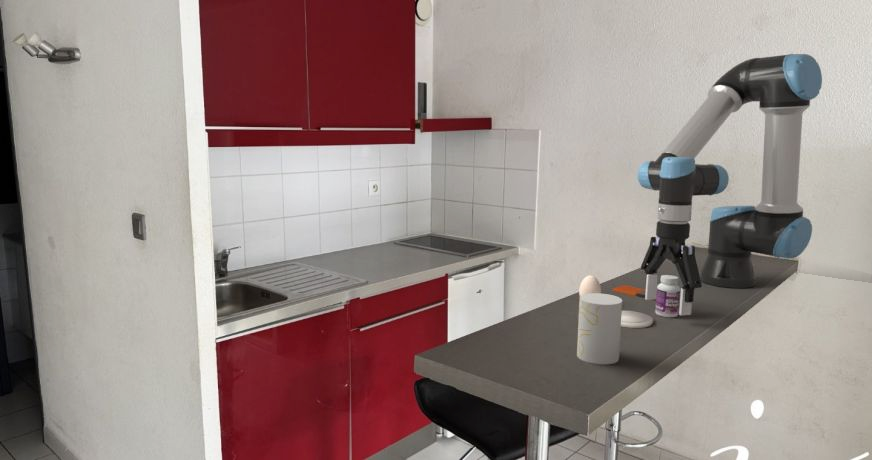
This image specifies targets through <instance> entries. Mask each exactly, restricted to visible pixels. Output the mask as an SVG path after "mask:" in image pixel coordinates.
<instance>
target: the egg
mask: <svg viewBox="0 0 872 460" xmlns="http://www.w3.org/2000/svg"><path fill="white" fill-rule="evenodd" d="M590 293H601V294H602V286H601V284H600V281H599V279H598V278H597V277H595V276H594V275H587V276H585V277H584V278H583V279H582V281H581V283H580V285H579V290H578V294H579V297H580V296H581V295H584V294H590Z"/></svg>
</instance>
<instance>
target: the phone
mask: <svg viewBox="0 0 872 460" xmlns="http://www.w3.org/2000/svg"><path fill="white" fill-rule="evenodd" d="M615 291H616V293H619V292H620V293H621V294H623V293H624V295H629V296H632V295H633V297H636V296H637V298H642V299H645V293H646V289H644V288H639V287H635V286H630V285H627V284H625V285H621V286H618V287H614V288H613V289H612V292H615ZM620 293H619V294H620ZM656 295H657V292H656ZM651 301H654V302H656V299H652V300H651Z"/></svg>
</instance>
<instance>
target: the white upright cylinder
mask: <svg viewBox="0 0 872 460" xmlns="http://www.w3.org/2000/svg"><path fill="white" fill-rule="evenodd" d="M578 305H579V306H578V322H577V323H578V326H577V327H578V328H577V345H576V346H577V347H576V356H577V358H578V359H580V360H581V361H583V362H586V363H590V364H594V365H611V364H616V363H617V362H619V359H620V344H621V329H622V328H621V315H622V311H623V299H622V298H621V297H619V296H616V295H612V294H610V293H609V294H607V293H602V292H601V293H590V294H584V295H581V296H580V295H579V303H578Z"/></svg>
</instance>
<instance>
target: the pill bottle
mask: <svg viewBox="0 0 872 460" xmlns="http://www.w3.org/2000/svg"><path fill="white" fill-rule="evenodd" d="M678 283H679V277H678V276H676V275H670V274H662V275H661V276H660V283H659V284H657V295H656V301H655V315H657V316H659V317H664V318H676V317H678V316H679V309H680V296H681V287H680V286H679V284H678Z"/></svg>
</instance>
